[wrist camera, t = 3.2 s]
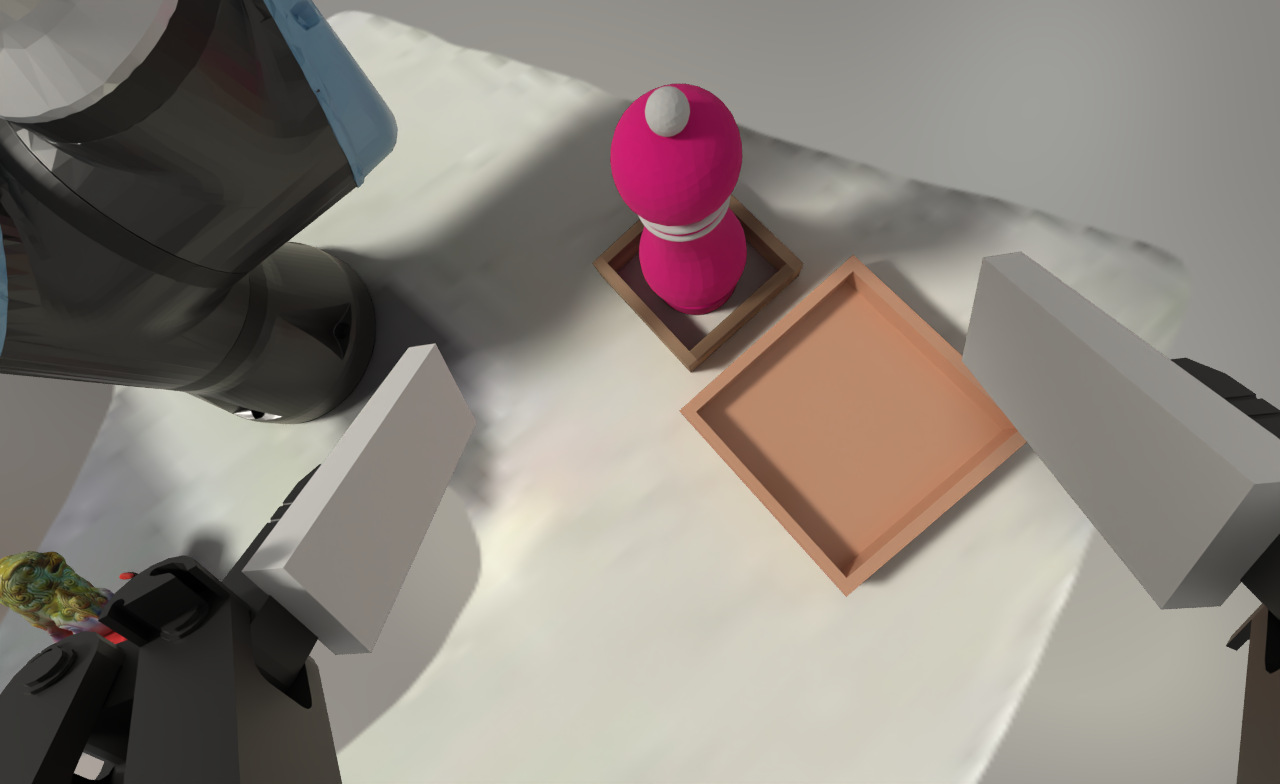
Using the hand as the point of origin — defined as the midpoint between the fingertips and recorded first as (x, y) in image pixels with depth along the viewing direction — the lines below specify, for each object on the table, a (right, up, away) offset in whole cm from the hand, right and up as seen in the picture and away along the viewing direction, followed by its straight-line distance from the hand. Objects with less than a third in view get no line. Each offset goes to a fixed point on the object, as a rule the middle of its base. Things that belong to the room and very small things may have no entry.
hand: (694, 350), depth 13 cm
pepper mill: (+3, +8, +26) cm, 28 cm away
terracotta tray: (+13, -3, +23) cm, 27 cm away
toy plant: (-43, -19, +31) cm, 56 cm away
